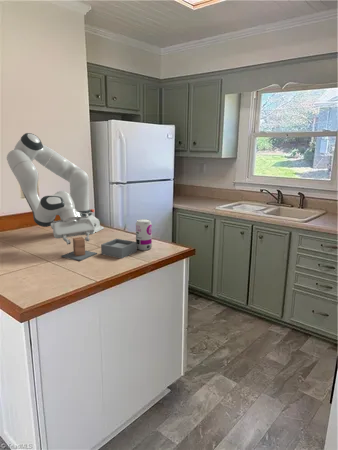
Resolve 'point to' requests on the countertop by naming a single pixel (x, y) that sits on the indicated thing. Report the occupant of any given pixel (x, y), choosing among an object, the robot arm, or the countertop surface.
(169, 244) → the countertop surface
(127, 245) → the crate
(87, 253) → the mat
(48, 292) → the countertop surface
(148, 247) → the supplement can
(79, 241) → the block
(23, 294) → the countertop surface
